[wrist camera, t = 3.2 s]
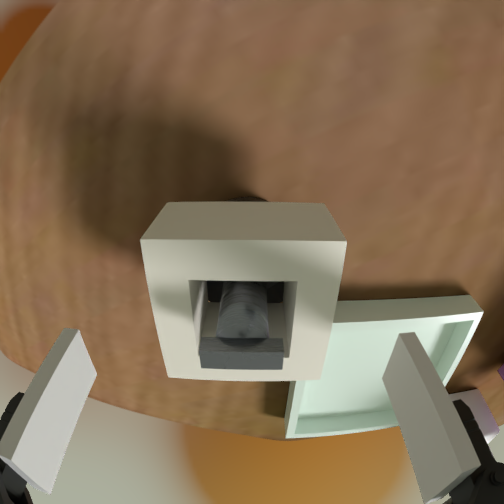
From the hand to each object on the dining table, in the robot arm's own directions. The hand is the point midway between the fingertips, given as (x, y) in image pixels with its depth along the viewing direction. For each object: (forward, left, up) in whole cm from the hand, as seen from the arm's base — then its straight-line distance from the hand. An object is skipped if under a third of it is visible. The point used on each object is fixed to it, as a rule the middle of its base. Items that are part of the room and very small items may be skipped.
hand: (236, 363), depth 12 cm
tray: (+13, +12, -11) cm, 21 cm away
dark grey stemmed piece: (0, 0, -11) cm, 11 cm away
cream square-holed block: (0, 0, -7) cm, 7 cm away
